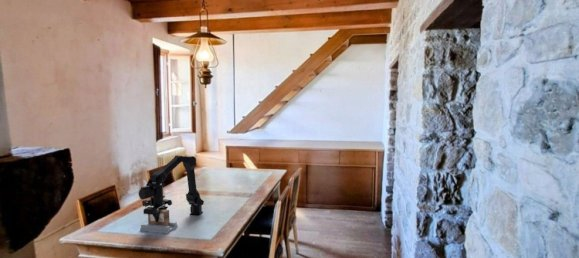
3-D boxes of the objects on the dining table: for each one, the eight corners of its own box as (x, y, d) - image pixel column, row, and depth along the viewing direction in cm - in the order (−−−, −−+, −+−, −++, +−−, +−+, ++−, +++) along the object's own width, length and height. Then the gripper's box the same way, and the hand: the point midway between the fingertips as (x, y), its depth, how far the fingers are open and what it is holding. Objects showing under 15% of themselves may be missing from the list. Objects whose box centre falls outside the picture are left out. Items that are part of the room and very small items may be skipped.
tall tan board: (169, 224, 185) (168, 209, 184) (166, 226, 182) (165, 211, 182) (151, 223, 188) (151, 208, 187) (148, 225, 185) (147, 210, 184)
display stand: (177, 226, 188) (177, 221, 188) (167, 233, 178) (167, 228, 178) (151, 224, 192) (151, 218, 192) (140, 230, 183) (139, 225, 182)
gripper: (156, 189, 195) (157, 214, 196) (134, 198, 177) (135, 225, 178) (172, 190, 192) (173, 215, 193) (151, 200, 174) (152, 227, 175)
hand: (158, 220), depth 185 cm, fingers closed on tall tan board, 3 cm apart
